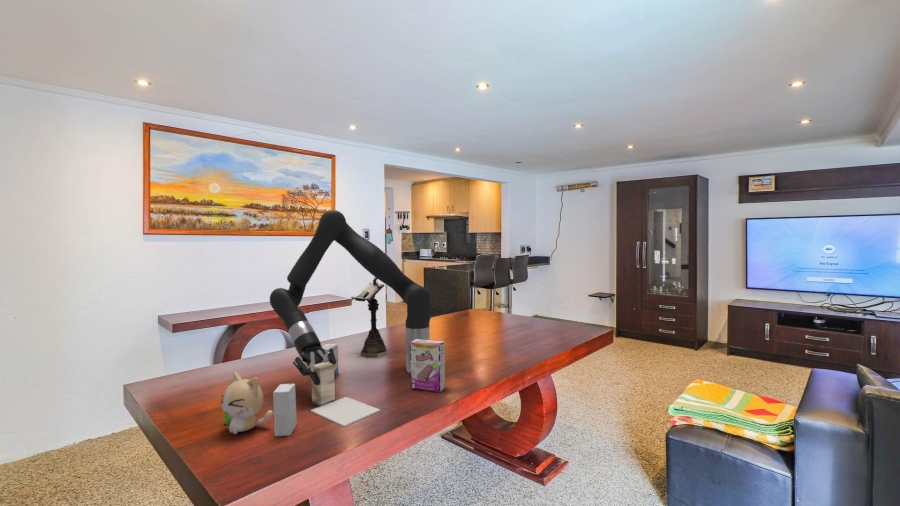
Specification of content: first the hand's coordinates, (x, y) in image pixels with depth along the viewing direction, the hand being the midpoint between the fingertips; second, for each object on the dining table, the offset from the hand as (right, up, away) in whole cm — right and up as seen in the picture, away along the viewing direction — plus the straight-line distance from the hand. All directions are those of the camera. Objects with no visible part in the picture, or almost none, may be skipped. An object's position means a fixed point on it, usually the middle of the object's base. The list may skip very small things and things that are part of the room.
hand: (326, 381), depth 130 cm
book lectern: (+4, -5, +52) cm, 53 cm away
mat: (+7, -7, -6) cm, 12 cm away
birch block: (-1, -7, +1) cm, 7 cm away
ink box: (-7, -7, +25) cm, 27 cm away
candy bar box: (+31, -7, +12) cm, 34 cm away
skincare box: (-6, -8, -18) cm, 20 cm away
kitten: (-18, -8, -16) cm, 26 cm away
